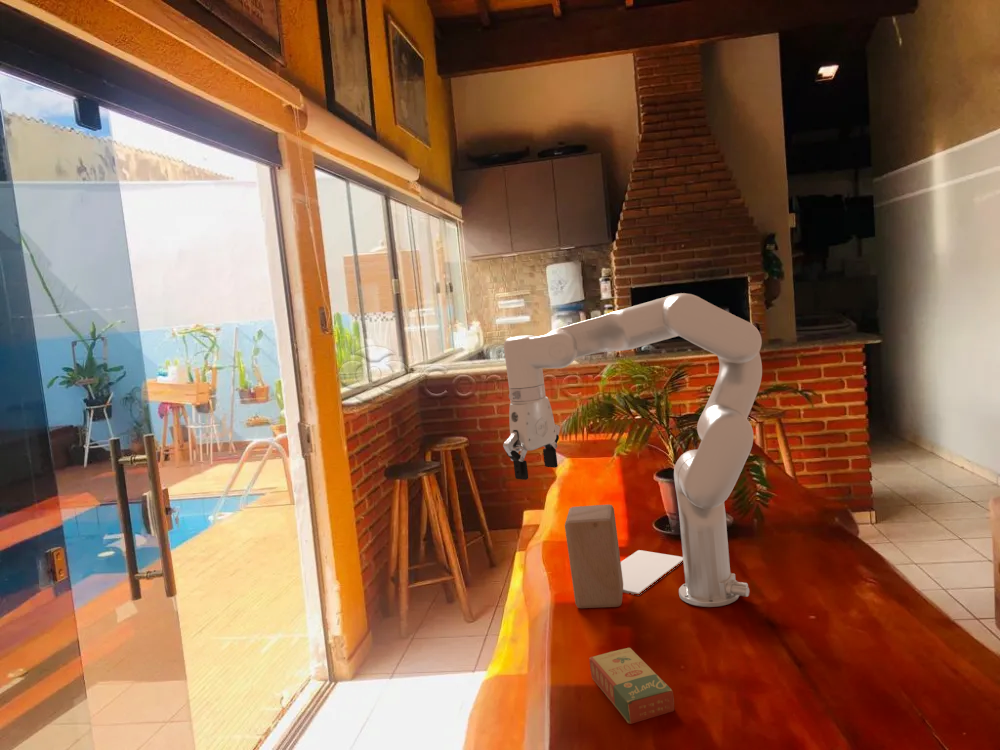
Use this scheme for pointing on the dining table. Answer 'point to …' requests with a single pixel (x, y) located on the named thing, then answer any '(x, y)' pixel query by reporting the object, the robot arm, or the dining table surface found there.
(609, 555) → the wooden block
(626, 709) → the carton
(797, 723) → the dining table surface
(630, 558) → the white mat
